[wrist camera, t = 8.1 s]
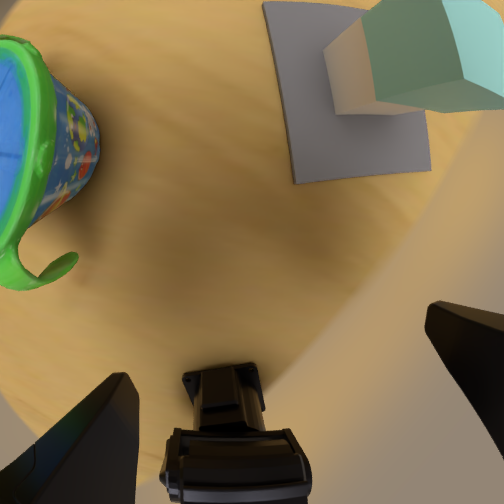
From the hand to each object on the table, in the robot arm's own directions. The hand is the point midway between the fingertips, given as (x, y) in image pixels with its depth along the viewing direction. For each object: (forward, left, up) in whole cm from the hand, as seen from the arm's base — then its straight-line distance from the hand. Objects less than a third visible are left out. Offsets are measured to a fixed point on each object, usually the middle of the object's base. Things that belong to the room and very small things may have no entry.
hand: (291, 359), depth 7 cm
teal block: (+10, -10, -6) cm, 15 cm away
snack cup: (+9, +12, -13) cm, 20 cm away
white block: (+10, -10, -12) cm, 19 cm away
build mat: (+10, -10, -13) cm, 19 cm away
